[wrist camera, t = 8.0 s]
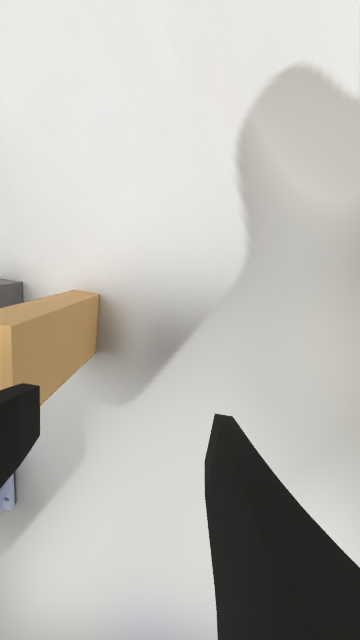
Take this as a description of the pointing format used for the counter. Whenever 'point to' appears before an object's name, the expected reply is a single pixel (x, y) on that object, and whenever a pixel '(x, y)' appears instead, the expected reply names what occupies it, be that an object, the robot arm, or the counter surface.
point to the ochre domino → (47, 340)
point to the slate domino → (10, 293)
